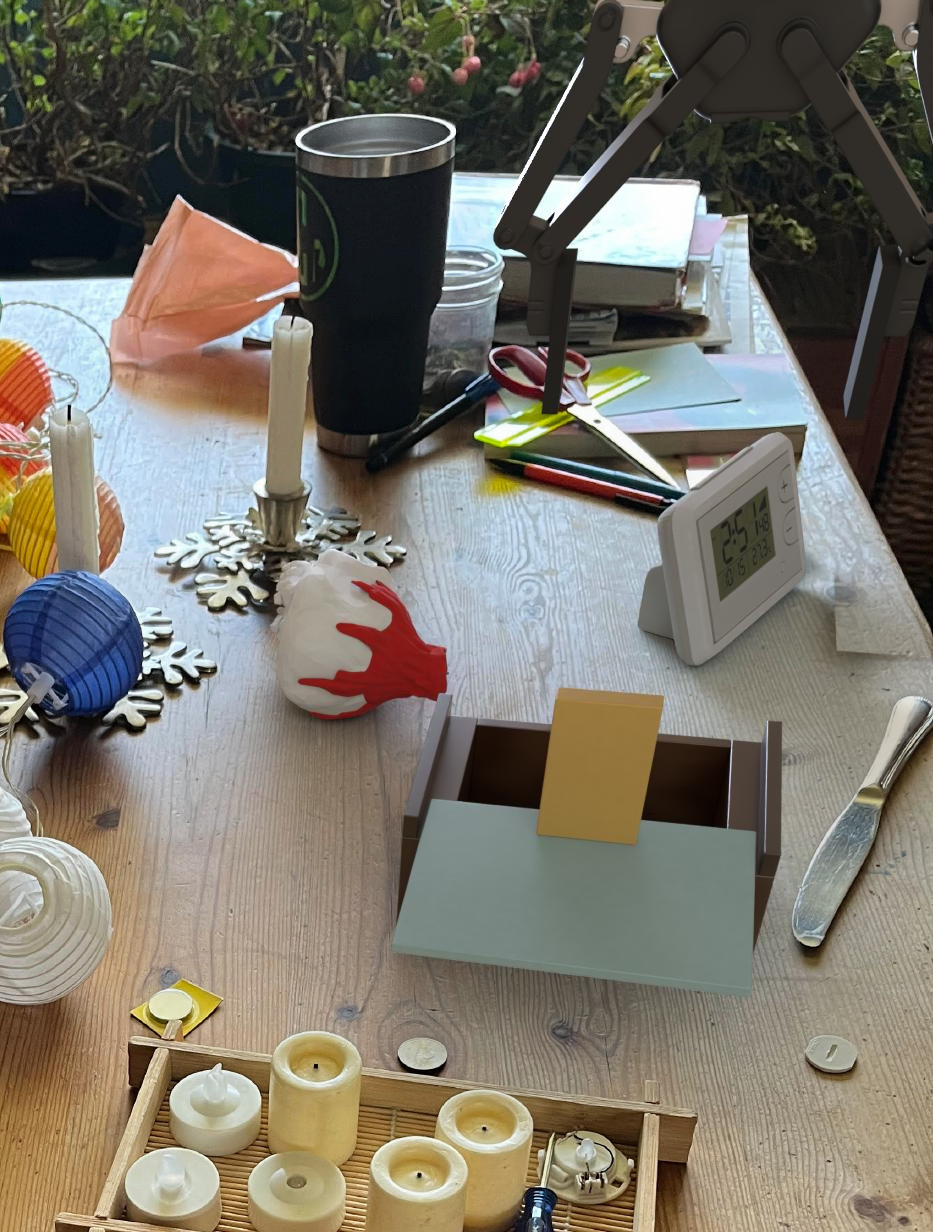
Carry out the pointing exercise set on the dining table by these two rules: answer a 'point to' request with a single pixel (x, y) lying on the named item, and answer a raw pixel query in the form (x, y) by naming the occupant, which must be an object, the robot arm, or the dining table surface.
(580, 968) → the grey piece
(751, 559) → the digital clock
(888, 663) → the dining table surface
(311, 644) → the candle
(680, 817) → the case
